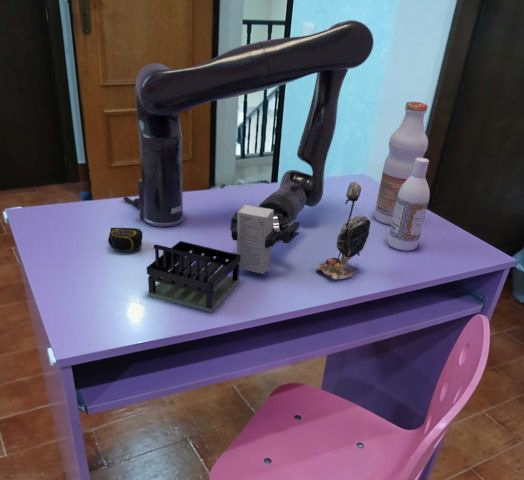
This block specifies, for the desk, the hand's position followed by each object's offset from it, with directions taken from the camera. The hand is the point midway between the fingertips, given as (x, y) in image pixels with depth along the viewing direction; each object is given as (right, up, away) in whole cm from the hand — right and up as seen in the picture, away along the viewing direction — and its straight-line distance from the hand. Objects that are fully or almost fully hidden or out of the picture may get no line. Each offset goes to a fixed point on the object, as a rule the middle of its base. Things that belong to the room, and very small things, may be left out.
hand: (250, 239), depth 108 cm
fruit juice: (+36, +12, +37) cm, 53 cm away
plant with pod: (+19, -5, +11) cm, 22 cm away
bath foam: (+35, +3, +24) cm, 43 cm away
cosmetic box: (0, -5, +6) cm, 8 cm away
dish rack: (-11, -10, 0) cm, 14 cm away
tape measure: (-27, +1, +12) cm, 30 cm away
